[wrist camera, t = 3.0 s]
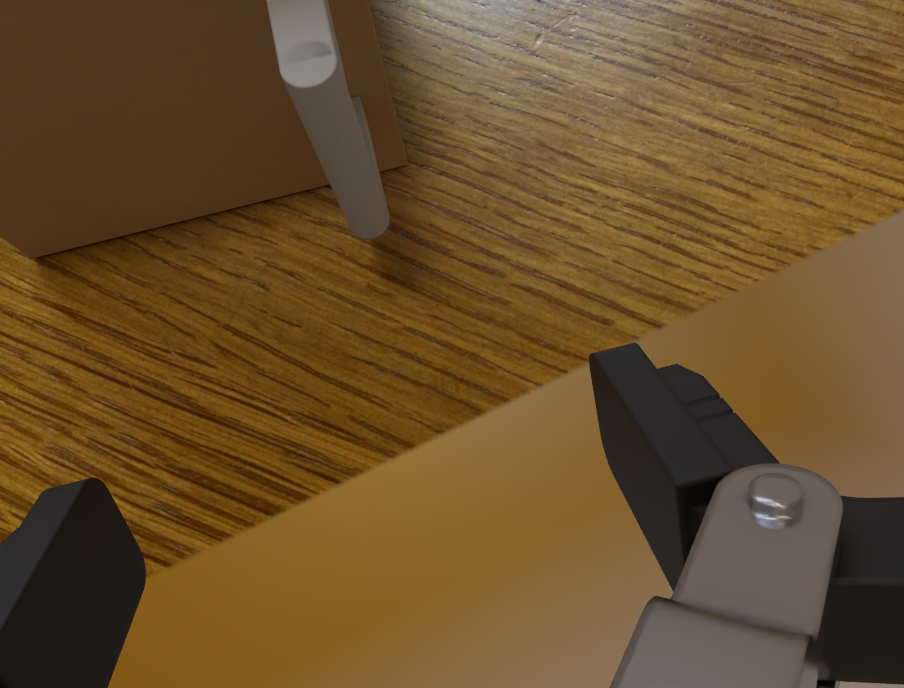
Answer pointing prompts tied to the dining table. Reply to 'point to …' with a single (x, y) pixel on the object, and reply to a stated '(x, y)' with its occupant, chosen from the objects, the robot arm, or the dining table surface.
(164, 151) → the cupboard door
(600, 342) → the dining table surface
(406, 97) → the dining table surface
